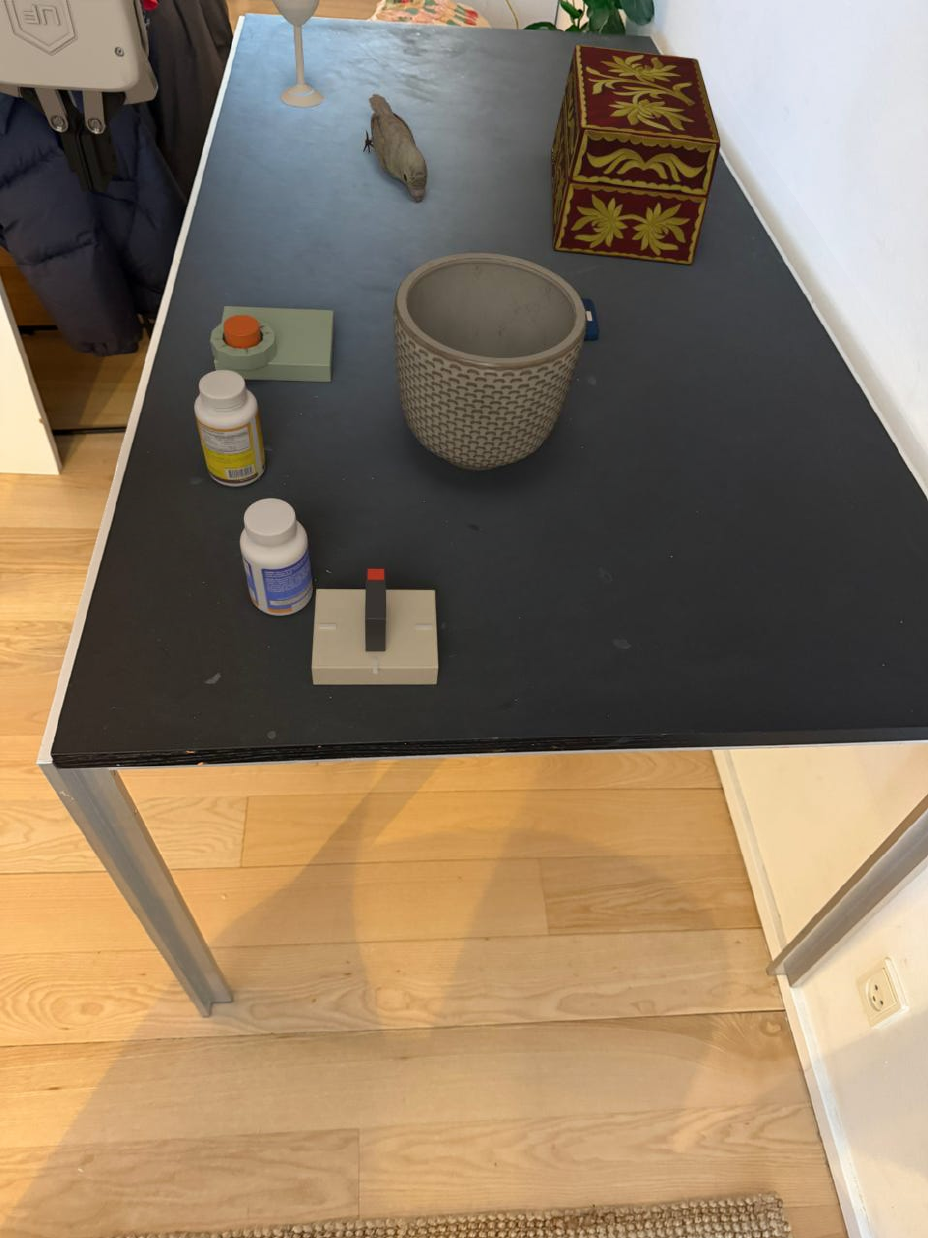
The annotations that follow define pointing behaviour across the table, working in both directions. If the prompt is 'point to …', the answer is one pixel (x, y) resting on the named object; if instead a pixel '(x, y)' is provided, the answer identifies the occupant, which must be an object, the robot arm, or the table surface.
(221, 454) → the supplement bottle
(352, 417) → the table surface
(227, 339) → the button
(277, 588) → the pill bottle
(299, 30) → the champagne flute
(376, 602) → the program dial
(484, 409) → the planter
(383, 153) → the decorative bird
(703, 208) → the decorative box
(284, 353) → the block
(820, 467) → the table surface
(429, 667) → the dial panel
